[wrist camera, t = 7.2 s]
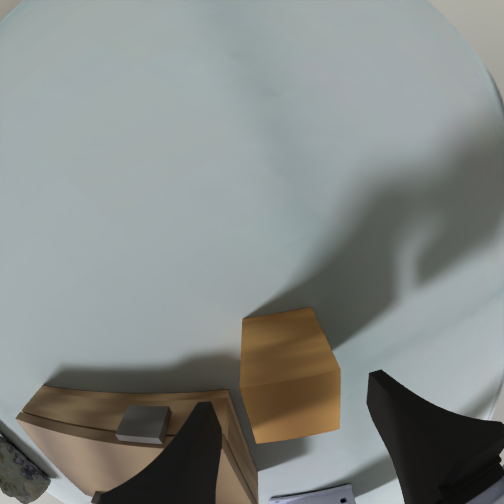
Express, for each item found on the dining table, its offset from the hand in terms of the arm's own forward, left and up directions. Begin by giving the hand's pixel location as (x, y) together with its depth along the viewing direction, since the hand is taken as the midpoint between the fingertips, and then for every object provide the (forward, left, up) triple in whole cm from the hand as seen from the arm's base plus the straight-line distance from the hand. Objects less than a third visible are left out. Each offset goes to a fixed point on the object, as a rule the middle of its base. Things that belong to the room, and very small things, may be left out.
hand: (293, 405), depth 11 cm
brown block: (0, 0, -5) cm, 5 cm away
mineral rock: (+44, +21, -6) cm, 49 cm away
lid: (+13, +9, -3) cm, 16 cm away
